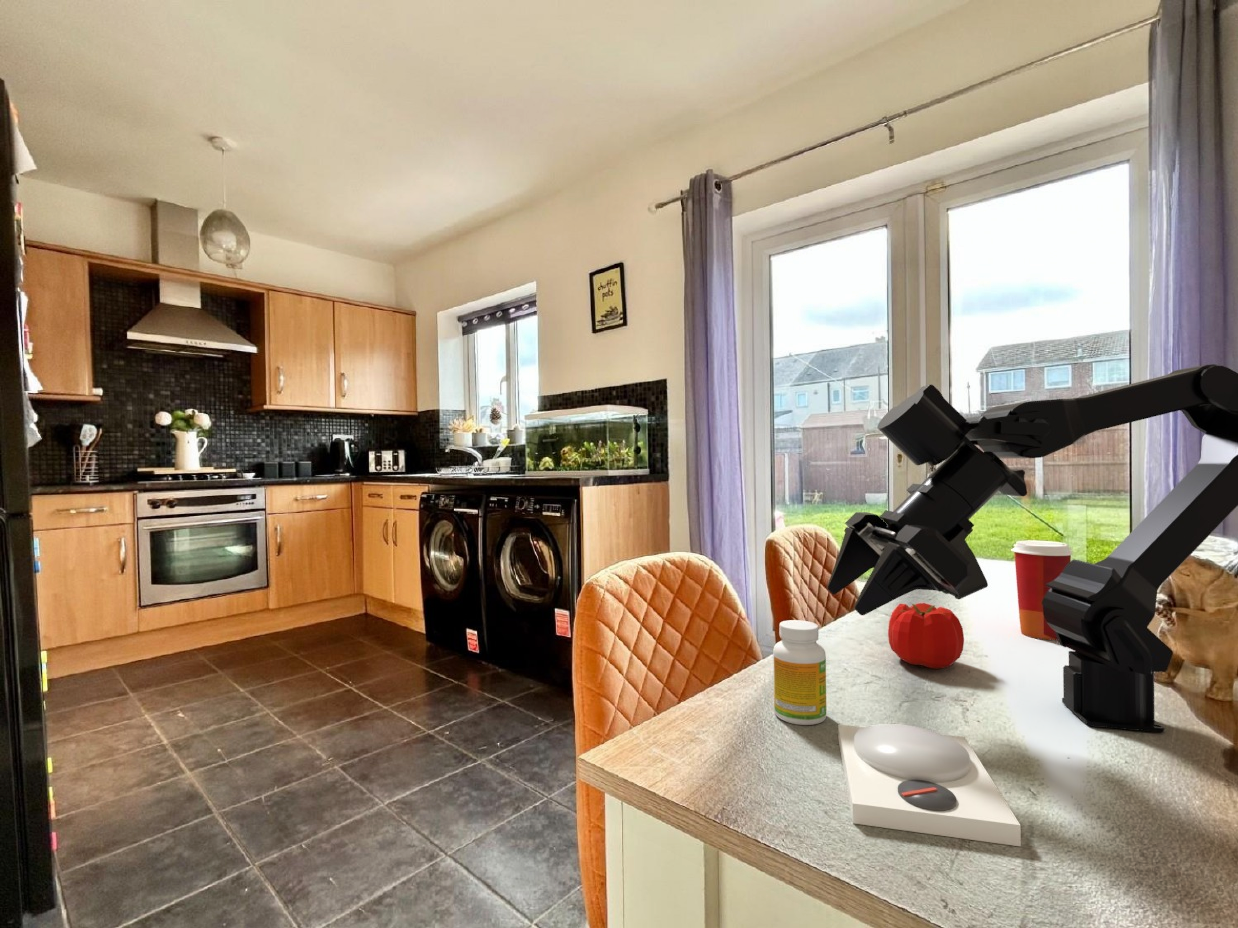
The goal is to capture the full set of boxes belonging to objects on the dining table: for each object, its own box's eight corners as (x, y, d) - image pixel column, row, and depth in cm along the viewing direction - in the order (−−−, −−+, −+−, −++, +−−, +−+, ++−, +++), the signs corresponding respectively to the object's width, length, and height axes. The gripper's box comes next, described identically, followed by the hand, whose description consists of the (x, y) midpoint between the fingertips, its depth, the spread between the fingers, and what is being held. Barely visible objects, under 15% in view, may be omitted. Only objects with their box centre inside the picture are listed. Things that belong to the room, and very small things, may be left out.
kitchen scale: (965, 752, 56) (964, 728, 56) (1020, 846, 43) (1020, 813, 43) (838, 739, 59) (838, 716, 59) (852, 823, 45) (852, 792, 45)
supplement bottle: (830, 728, 62) (828, 632, 62) (775, 724, 63) (774, 630, 63) (823, 707, 67) (822, 618, 67) (772, 703, 68) (771, 616, 68)
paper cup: (1071, 632, 94) (1071, 541, 94) (1076, 645, 87) (1075, 547, 87) (1011, 625, 98) (1010, 538, 98) (1011, 637, 91) (1010, 544, 91)
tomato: (918, 649, 87) (917, 596, 87) (978, 667, 79) (977, 610, 79) (870, 659, 83) (869, 604, 83) (928, 680, 75) (928, 619, 75)
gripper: (1066, 566, 54) (940, 688, 55) (959, 539, 73) (866, 630, 74) (975, 478, 55) (850, 601, 55) (892, 474, 73) (800, 565, 74)
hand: (842, 601), depth 64 cm, fingers open, 9 cm apart
